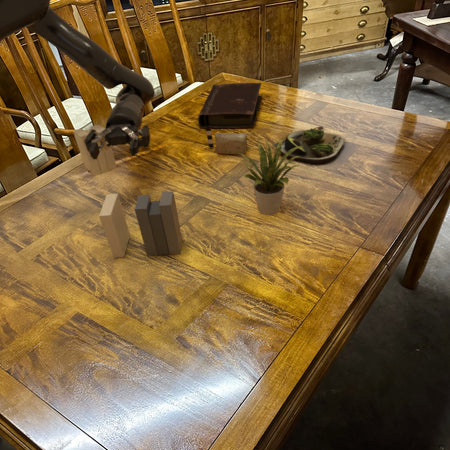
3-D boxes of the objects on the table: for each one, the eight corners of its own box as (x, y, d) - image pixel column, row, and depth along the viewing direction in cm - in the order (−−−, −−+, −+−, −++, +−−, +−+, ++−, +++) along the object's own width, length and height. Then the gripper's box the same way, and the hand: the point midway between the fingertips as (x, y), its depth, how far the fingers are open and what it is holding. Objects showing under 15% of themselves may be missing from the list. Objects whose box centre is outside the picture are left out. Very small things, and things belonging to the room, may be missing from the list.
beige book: (124, 257, 92) (110, 215, 84) (113, 257, 92) (98, 215, 84) (130, 234, 97) (117, 193, 89) (120, 235, 97) (106, 194, 89)
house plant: (316, 207, 99) (323, 141, 87) (278, 235, 93) (279, 167, 81) (271, 187, 107) (271, 124, 95) (232, 211, 100) (228, 147, 89)
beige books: (86, 170, 121) (72, 131, 112) (108, 161, 123) (97, 122, 115) (93, 176, 118) (80, 136, 109) (117, 166, 121) (105, 127, 112)
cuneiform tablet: (209, 147, 125) (249, 146, 123) (206, 157, 122) (247, 156, 120) (205, 126, 119) (247, 125, 117) (203, 136, 116) (245, 135, 114)
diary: (198, 129, 134) (196, 113, 130) (212, 98, 151) (210, 83, 147) (256, 128, 131) (255, 112, 127) (263, 97, 148) (263, 82, 144)
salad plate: (296, 128, 129) (296, 113, 126) (352, 137, 122) (355, 122, 119) (267, 156, 118) (267, 140, 115) (328, 168, 111) (329, 152, 108)
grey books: (180, 253, 91) (170, 204, 82) (147, 255, 91) (133, 207, 82) (182, 239, 94) (173, 191, 85) (150, 241, 95) (137, 193, 86)
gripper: (91, 108, 99) (74, 139, 88) (150, 103, 99) (140, 134, 87) (101, 139, 105) (86, 172, 94) (157, 134, 104) (148, 167, 93)
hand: (112, 153), depth 90 cm, fingers open, 8 cm apart
